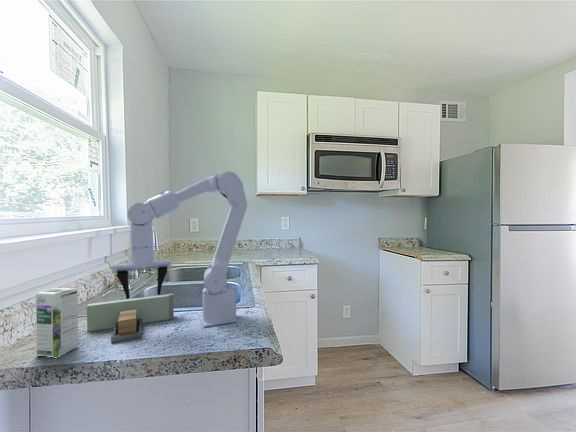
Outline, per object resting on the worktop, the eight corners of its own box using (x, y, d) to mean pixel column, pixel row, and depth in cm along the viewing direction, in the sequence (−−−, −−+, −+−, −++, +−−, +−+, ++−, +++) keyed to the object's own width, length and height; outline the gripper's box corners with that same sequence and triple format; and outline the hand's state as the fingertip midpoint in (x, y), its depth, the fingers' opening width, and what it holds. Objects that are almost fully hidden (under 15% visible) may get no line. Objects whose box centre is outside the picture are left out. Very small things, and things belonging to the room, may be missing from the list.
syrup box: (34, 357, 66) (33, 293, 66) (59, 345, 72) (58, 286, 72) (56, 359, 65) (55, 293, 65) (79, 347, 71) (78, 287, 71)
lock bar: (136, 337, 76) (135, 318, 76) (118, 340, 75) (118, 321, 75) (136, 326, 84) (136, 309, 83) (120, 329, 82) (120, 311, 82)
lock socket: (141, 323, 85) (141, 318, 85) (141, 337, 76) (141, 332, 76) (115, 328, 82) (115, 322, 82) (111, 343, 73) (111, 337, 73)
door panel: (173, 316, 92) (172, 293, 92) (173, 318, 89) (173, 294, 89) (88, 328, 82) (88, 303, 82) (87, 331, 80) (86, 305, 80)
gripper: (169, 243, 88) (170, 289, 88) (113, 247, 82) (114, 296, 82) (171, 246, 82) (172, 294, 82) (110, 250, 75) (112, 303, 75)
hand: (143, 295), depth 81 cm, fingers open, 7 cm apart
